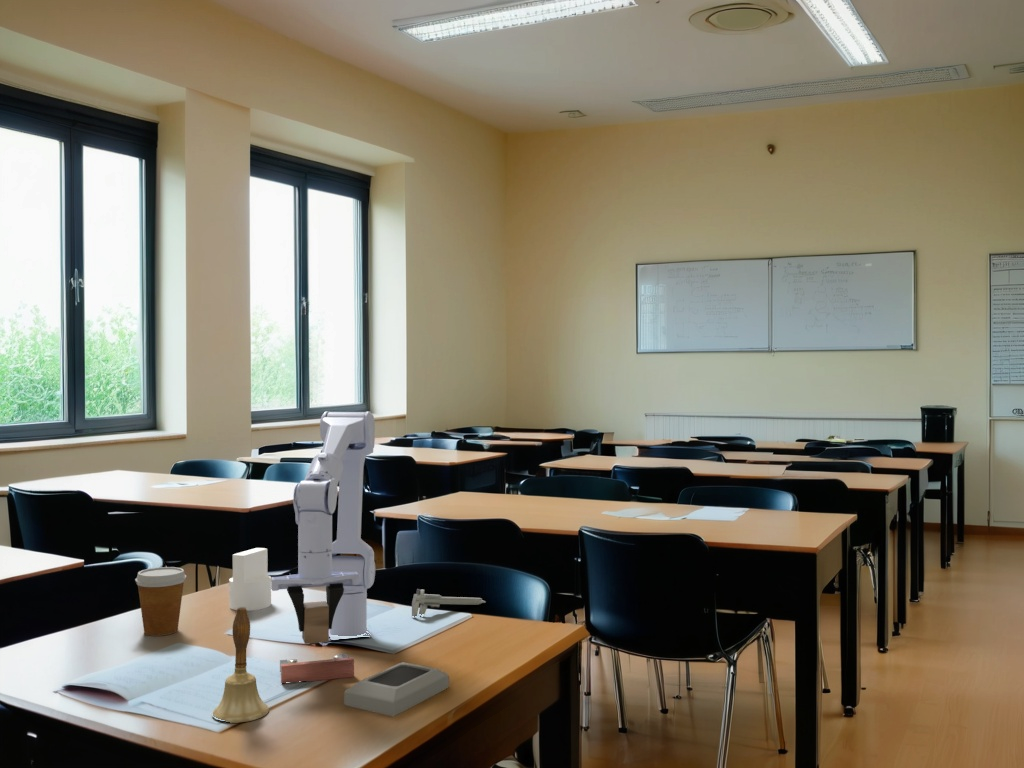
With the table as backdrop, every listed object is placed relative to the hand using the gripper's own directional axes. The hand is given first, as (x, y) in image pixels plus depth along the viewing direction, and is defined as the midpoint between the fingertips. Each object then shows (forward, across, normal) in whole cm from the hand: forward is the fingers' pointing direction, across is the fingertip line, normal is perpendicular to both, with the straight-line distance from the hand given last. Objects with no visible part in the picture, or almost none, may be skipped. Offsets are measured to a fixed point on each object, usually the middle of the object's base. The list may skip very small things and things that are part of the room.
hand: (315, 628), depth 159 cm
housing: (+8, 0, 0) cm, 8 cm away
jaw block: (+2, 0, 0) cm, 2 cm away
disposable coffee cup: (+8, -26, +36) cm, 45 cm away
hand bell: (+8, -13, -16) cm, 22 cm away
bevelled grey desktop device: (+8, +11, -16) cm, 21 cm away
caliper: (+8, +33, +34) cm, 48 cm away
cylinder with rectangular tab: (+8, -8, +52) cm, 53 cm away
